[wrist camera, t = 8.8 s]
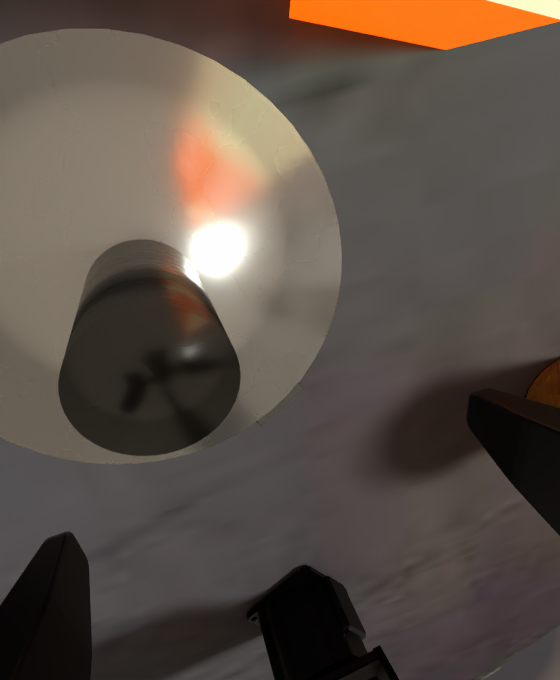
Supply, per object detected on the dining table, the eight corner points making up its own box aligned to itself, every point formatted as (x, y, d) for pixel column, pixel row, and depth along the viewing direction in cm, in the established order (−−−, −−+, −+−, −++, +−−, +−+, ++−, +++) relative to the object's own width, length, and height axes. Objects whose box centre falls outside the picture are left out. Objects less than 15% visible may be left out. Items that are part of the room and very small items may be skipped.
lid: (146, 495, 16) (154, 661, 11) (-248, 274, 10) (-665, 434, 5) (386, 290, 16) (511, 367, 11) (142, -98, 9) (159, -395, 4)
